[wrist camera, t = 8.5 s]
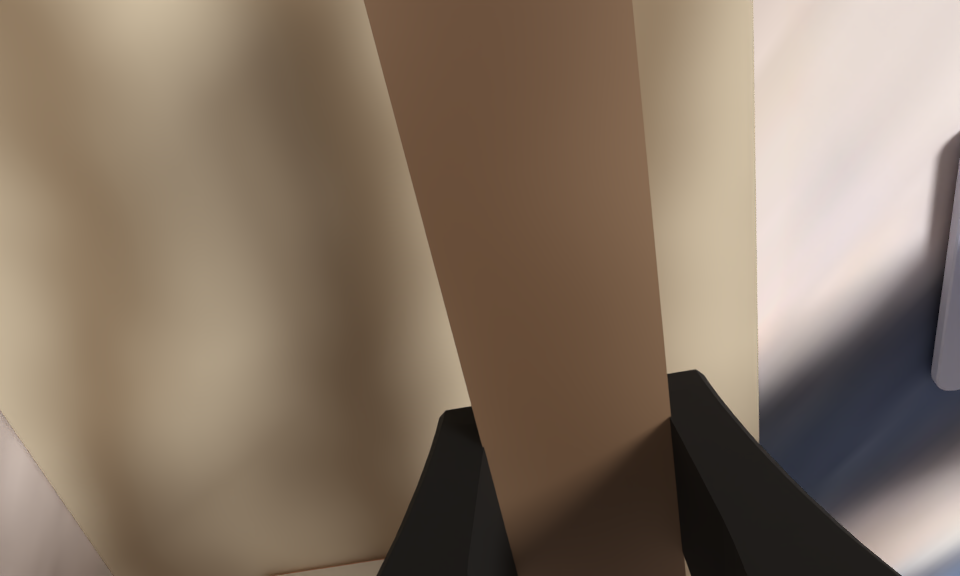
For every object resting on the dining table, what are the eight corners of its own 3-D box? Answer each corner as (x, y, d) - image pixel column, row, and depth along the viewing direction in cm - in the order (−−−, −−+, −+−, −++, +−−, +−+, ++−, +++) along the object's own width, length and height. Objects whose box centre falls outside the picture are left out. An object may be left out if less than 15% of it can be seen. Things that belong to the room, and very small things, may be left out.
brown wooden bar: (559, -303, 9) (602, -316, 6) (672, 661, 19) (708, 814, 16) (342, -251, 9) (298, -243, 7) (565, 675, 19) (584, 829, 16)
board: (729, -425, 14) (746, -435, 13) (754, 664, 32) (762, 689, 31) (-344, -165, 16) (-388, -159, 15) (243, 733, 33) (238, 758, 33)
